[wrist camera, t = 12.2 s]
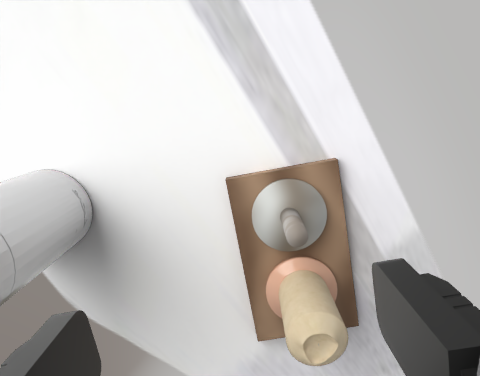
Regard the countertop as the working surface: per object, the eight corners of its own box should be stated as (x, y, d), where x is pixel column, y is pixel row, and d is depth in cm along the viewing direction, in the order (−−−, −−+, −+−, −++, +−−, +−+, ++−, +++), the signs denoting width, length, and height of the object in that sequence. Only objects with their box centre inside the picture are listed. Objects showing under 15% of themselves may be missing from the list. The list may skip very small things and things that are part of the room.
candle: (311, 321, 41) (331, 387, 32) (269, 300, 41) (276, 361, 31) (336, 282, 40) (365, 338, 30) (293, 260, 40) (308, 310, 30)
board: (257, 335, 44) (260, 384, 36) (226, 177, 40) (221, 196, 32) (355, 319, 44) (379, 367, 36) (334, 157, 39) (357, 171, 31)
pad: (271, 324, 43) (272, 328, 42) (260, 262, 41) (260, 265, 40) (339, 313, 42) (341, 317, 41) (330, 250, 40) (332, 253, 40)
